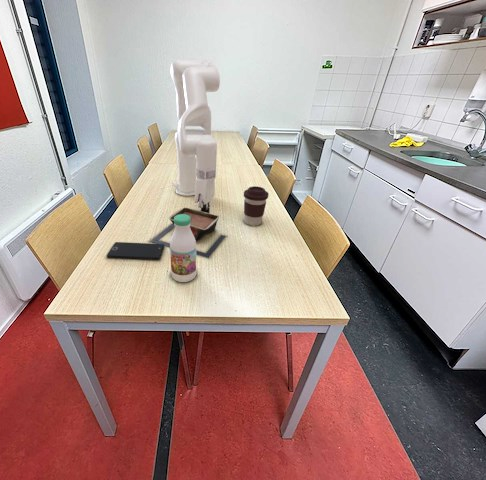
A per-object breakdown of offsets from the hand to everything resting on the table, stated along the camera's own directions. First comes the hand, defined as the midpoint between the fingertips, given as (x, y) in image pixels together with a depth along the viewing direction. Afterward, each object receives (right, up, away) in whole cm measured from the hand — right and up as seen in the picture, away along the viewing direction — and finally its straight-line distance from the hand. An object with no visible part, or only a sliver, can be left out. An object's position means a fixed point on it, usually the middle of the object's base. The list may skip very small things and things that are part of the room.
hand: (205, 216), depth 113 cm
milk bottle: (-6, -21, -28) cm, 36 cm away
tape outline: (-6, -9, -9) cm, 14 cm away
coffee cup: (+20, -2, +4) cm, 21 cm away
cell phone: (-24, -14, -18) cm, 33 cm away
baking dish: (-4, -7, -5) cm, 10 cm away
